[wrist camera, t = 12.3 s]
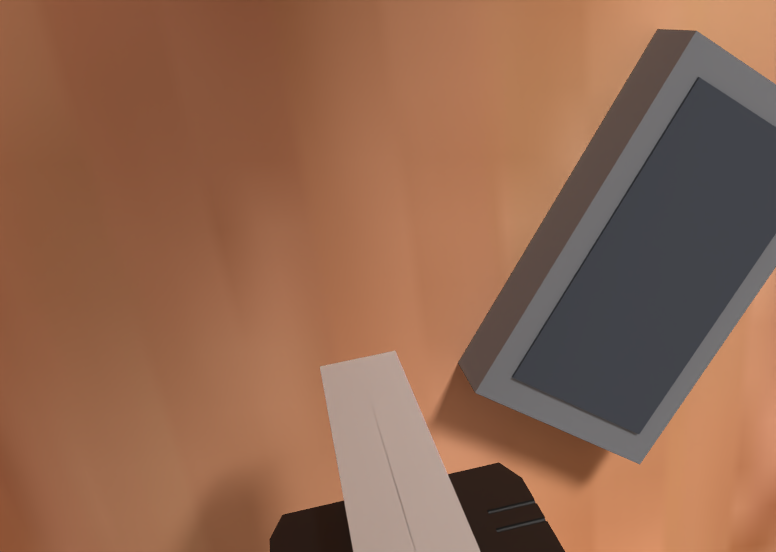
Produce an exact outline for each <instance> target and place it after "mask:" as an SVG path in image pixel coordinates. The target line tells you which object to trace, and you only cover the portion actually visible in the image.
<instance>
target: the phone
mask: <svg viewBox="0 0 776 552" xmlns="http://www.w3.org/2000/svg"><path fill="white" fill-rule="evenodd" d="M775 267H776V84H774V83H773V82H771V81H770V80H768V79H767V78H765V77H764V76H762V75H761V74H759V73H758V72H756V71H755V70H754V69H752V68H751V67H749V66H748V65H746V64H745V63H743V62H742V61H740V60H739V59H737V58H736V57H734V56H733V55H731V54H730V53H728V52H727V51H725V50H724V49H723V48H721V47H720V46H718V45H717V44H715V43H714V42H712V41H711V40H709V39H708V38H706V37H705V36H703V35H702V34H700V33H699V32H697V31H689V30H663V29H657V31H656V33H655V34H654V36H653V38H652V39H651V41H650V43H649V44H648V46H647V48H646V49H645V51H644V53H643V54H642V56H641V58H640V59H639V61H638V63H637V64H636V66H635V68H634V69H633V71H632V73H631V74H630V76H629V78H628V79H627V81H626V83H625V84H624V86H623V88H622V89H621V91H620V93H619V94H618V96H617V98H616V99H615V101H614V103H613V104H612V106H611V108H610V110H609V111H608V113H607V115H606V116H605V118H604V120H603V121H602V123H601V125H600V126H599V128H598V130H597V131H596V133H595V135H594V136H593V138H592V140H591V141H590V143H589V145H588V146H587V148H586V150H585V151H584V153H583V155H582V156H581V158H580V160H579V161H578V163H577V165H576V166H575V168H574V170H573V171H572V173H571V175H570V176H569V178H568V180H567V181H566V183H565V185H564V186H563V188H562V190H561V191H560V193H559V195H558V196H557V198H556V200H555V202H554V203H553V205H552V207H551V208H550V210H549V212H548V213H547V215H546V217H545V218H544V220H543V222H542V223H541V225H540V227H539V228H538V230H537V232H536V233H535V235H534V237H533V238H532V240H531V242H530V243H529V245H528V247H527V248H526V250H525V252H524V253H523V255H522V257H521V258H520V260H519V262H518V263H517V265H516V267H515V268H514V270H513V272H512V273H511V275H510V277H509V278H508V280H507V282H506V283H505V285H504V287H503V288H502V290H501V292H500V294H499V295H498V297H497V299H496V300H495V302H494V304H493V305H492V307H491V309H490V310H489V312H488V314H487V315H486V317H485V319H484V320H483V322H482V324H481V325H480V327H479V329H478V330H477V332H476V334H475V335H474V337H473V339H472V340H471V342H470V344H469V345H468V347H467V349H466V350H465V352H464V354H463V355H462V357H461V359H460V360H459V362H458V364H459V366H460V367H461V369H462V371H463V373H464V374H465V376H466V378H467V380H468V381H469V383H470V385H471V387H472V388H473V390H474V392H475V393H477V394H479V395H481V396H484V397H486V398H488V399H491V400H493V401H495V402H497V403H500V404H502V405H504V406H507V407H509V408H511V409H514V410H516V411H518V412H520V413H523V414H525V415H527V416H530V417H532V418H534V419H537V420H539V421H541V422H544V423H546V424H548V425H550V426H553V427H555V428H557V429H560V430H562V431H564V432H567V433H569V434H571V435H574V436H576V437H578V438H580V439H583V440H585V441H587V442H590V443H592V444H594V445H597V446H599V447H601V448H603V449H606V450H608V451H610V452H613V453H615V454H617V455H620V456H622V457H624V458H627V459H629V460H631V461H633V462H636V463H638V464H640V463H641V462H642V461H643V459H644V458H645V456H646V455H647V453H648V452H649V450H650V449H651V447H652V446H653V445H654V443H655V442H656V440H657V439H658V437H659V436H660V434H661V433H662V431H663V430H664V429H665V427H666V426H667V424H668V423H669V421H670V420H671V418H672V417H673V416H674V414H675V413H676V411H677V410H678V408H679V407H680V405H681V404H682V402H683V401H684V400H685V398H686V397H687V395H688V394H689V392H690V391H691V389H692V388H693V386H694V385H695V384H696V382H697V381H698V379H699V378H700V376H701V375H702V373H703V372H704V370H705V369H706V368H707V366H708V365H709V363H710V362H711V360H712V359H713V357H714V356H715V354H716V353H717V352H718V350H719V349H720V347H721V346H722V344H723V343H724V341H725V340H726V338H727V337H728V336H729V334H730V333H731V331H732V330H733V328H734V327H735V325H736V324H737V323H738V321H739V320H740V318H741V317H742V315H743V314H744V312H745V311H746V309H747V308H748V307H749V305H750V304H751V302H752V301H753V299H754V298H755V296H756V295H757V293H758V292H759V291H760V289H761V288H762V286H763V285H764V283H765V282H766V280H767V279H768V277H769V276H770V275H771V273H772V272H773V270H774V269H775Z"/></svg>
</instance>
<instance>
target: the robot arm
mask: <svg viewBox="0 0 776 552" xmlns="http://www.w3.org/2000/svg"><path fill="white" fill-rule="evenodd" d="M320 370H321V376H322V382H323V387H324V393H325V398H326V404H327V409H328V415H329V420H330V426H331V431H332V437H333V442H334V448H335V453H336V459H337V464H338V470H339V476H340V481H341V487H342V492H343V498H344V501H340V502H336V503H332V504H327V505H323V506H319V507H314V508H310V509H306V510H301V511H297V512H293V513H288V514H284V515H282V517H281V519H280V521H279V522H278V524H277V526H276V528H275V530H274V532H273V534H272V536H271V538H270V552H565V551H564V549H563V547H562V546H561V544H560V542H559V541H558V539H557V537H556V535H555V534H554V532H553V530H552V529H551V527H550V525H549V524H548V522H547V521H545V517H544V515H543V513H542V512H541V510H540V508H539V506H538V505H537V503H536V504H535V501H534V498H533V496H532V494H531V493H530V491H529V489H528V488H527V486H526V484H525V483H524V481H523V479H522V478H521V477H520V476H518V475H517V474H515V473H514V472H512V471H511V470H509V469H508V468H506V467H505V466H503V465H502V464H500V463H495V464H491V465H486V466H482V467H478V468H473V469H469V470H465V471H460V472H456V473H452V474H447V471H446V469H445V467H444V464H443V462H442V460H441V457H440V455H439V452H438V450H437V448H436V445H435V443H434V441H433V438H432V436H431V434H430V431H429V429H428V427H427V424H426V422H425V419H424V417H423V415H422V412H421V410H420V408H419V405H418V403H417V401H416V398H415V396H414V394H413V391H412V389H411V386H410V384H409V382H408V379H407V377H406V375H405V372H404V370H403V368H402V365H401V363H400V360H399V358H398V356H397V353H396V351H391V352H386V353H382V354H377V355H372V356H367V357H363V358H358V359H353V360H348V361H344V362H339V363H334V364H329V365H325V366H320Z"/></svg>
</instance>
